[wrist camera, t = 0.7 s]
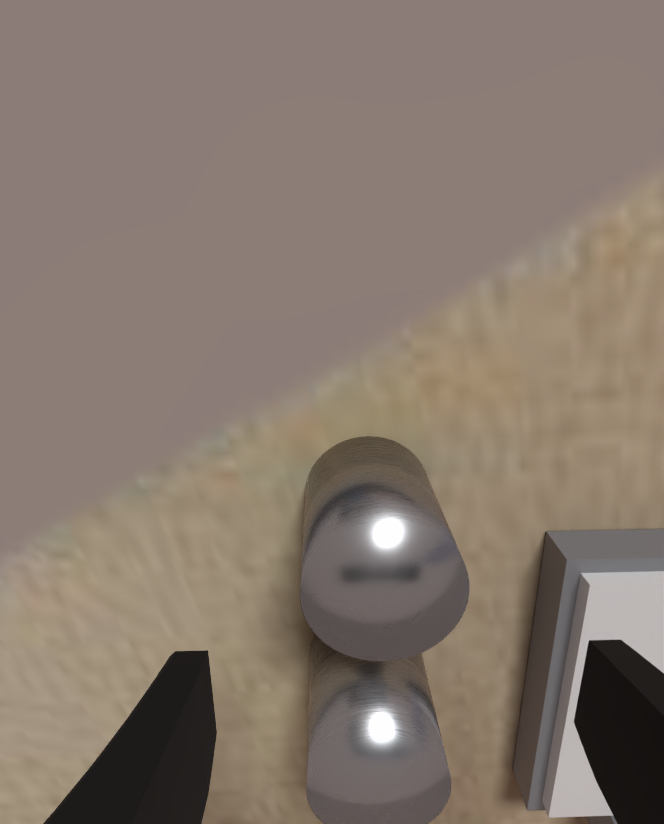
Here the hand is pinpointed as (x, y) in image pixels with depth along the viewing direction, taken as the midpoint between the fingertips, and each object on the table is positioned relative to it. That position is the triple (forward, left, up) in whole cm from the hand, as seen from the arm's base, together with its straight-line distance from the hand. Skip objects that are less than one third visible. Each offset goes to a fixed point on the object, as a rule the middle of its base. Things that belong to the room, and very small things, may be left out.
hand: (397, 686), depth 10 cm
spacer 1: (0, 0, -8) cm, 8 cm away
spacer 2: (0, +6, -8) cm, 10 cm away
